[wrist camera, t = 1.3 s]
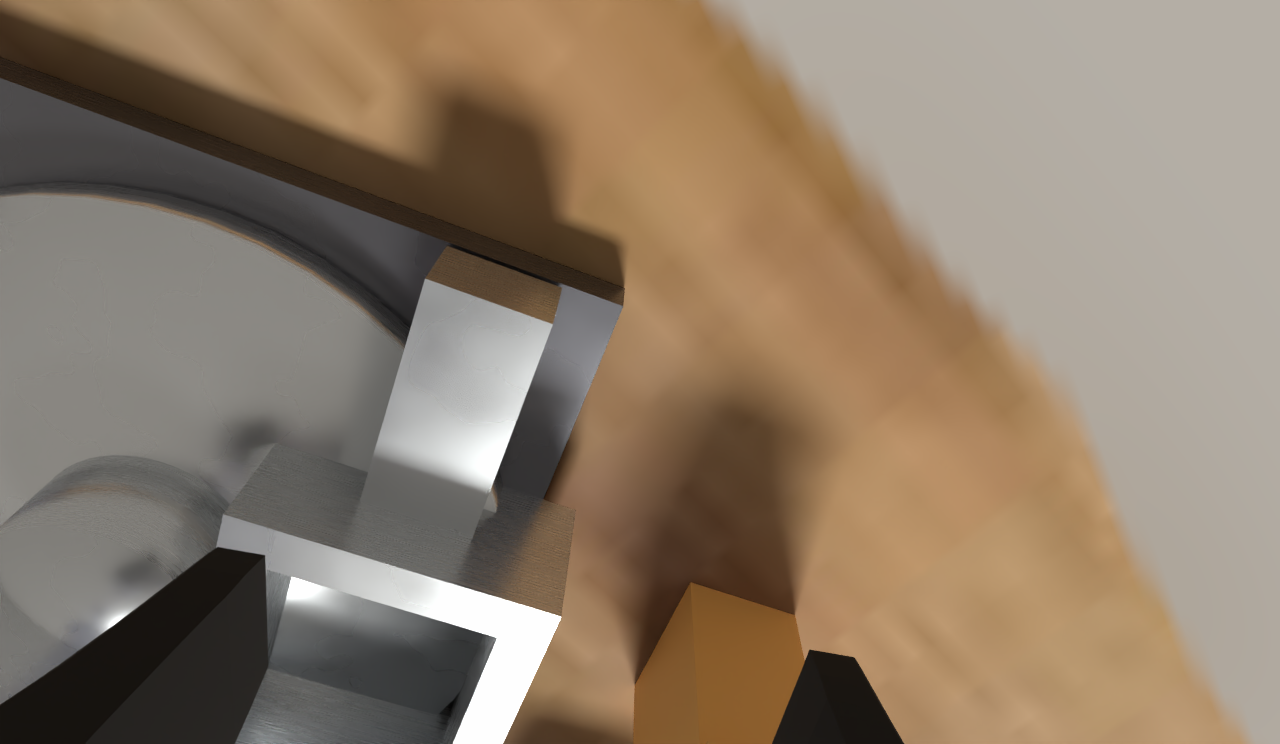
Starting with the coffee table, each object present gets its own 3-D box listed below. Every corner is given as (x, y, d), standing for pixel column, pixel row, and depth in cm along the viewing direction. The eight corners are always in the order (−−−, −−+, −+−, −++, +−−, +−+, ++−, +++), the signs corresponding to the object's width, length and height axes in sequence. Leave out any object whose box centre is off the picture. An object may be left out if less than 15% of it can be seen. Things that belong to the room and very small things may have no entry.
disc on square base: (440, 806, 26) (401, 962, 22) (-147, 653, 24) (-310, 799, 20) (658, 301, 19) (659, 401, 15) (-176, -8, 16) (-453, 11, 12)
